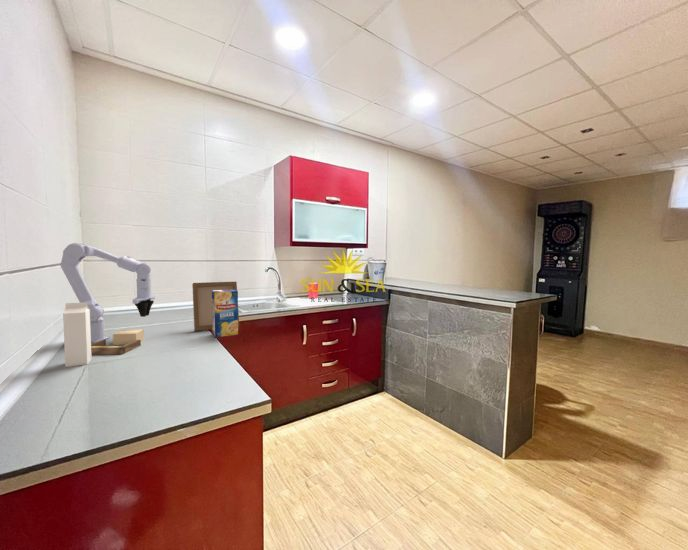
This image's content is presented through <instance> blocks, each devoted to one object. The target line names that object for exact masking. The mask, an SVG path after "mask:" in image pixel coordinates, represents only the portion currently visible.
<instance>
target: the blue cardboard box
mask: <svg viewBox="0 0 688 550" xmlns="http://www.w3.org/2000/svg"><path fill="white" fill-rule="evenodd" d="M238 312H239V291H238V289H237V290H215V291H212V329H211V330H212V333H211V334H212V335H213V337H214V338H221V337H231V336H237V335H239V326H238Z"/></svg>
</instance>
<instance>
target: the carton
mask: <svg viewBox="0 0 688 550" xmlns="http://www.w3.org/2000/svg"><path fill="white" fill-rule="evenodd" d="M144 332H145V331H144V329H121V330H119V331H116V332H114V333H112V341H113V342H112V346H120V345H121V346H124V345H126V344H129V343H131V342H133V341H135V340H141V342H142V341H145V333H144Z"/></svg>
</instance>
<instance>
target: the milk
mask: <svg viewBox="0 0 688 550" xmlns="http://www.w3.org/2000/svg"><path fill="white" fill-rule="evenodd" d="M62 314H63V315H62V322H63V338H64V339H63V343H64V345H63V346H64V365H65V368H68V367H76V366H85V365H88V364H89V363H90V362H91V360H92V354H91V344H92V342H91V332H90V309H89V308H88V307H87V302H83V303H80V302H67V303H65V308H64V311H63V313H62Z"/></svg>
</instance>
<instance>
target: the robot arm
mask: <svg viewBox="0 0 688 550" xmlns="http://www.w3.org/2000/svg"><path fill="white" fill-rule="evenodd" d="M86 257H98V258H101V259H103V260H105V261H109V262H112V263H114V264H115V263H116V265H117V267H118V268H120V269H124V270H125V271H129V272H130V273H136V297H135V298H133V299H132V304H134V305H135V307H136V308H137V311H138V312H139V316H140V317H143V318H144V317H147V316H149V315H150V312H151V309H152V306H153V304H154V302H155V301H154V300H155V299H156V298H155V297H156V295H153V294H152V282H151V281H152V279H151V270H152V269H151V266H150V265H149V264H148V263H146V262H142V261H141V260H137V259H134V258H131V257H132V256H129V255H127V256H126V255H122V256H117V255H115V254H113V253H110V252H108V251H105V250H104V249H100V248H98V247H95V246H91V245H86V244H83V243H77V242H75V243H70V244H68V245H67V246H66V247H65V248H64V250H63V251H62V257H61V262H60V268H61V270H62V272H63V273H64V275H65V277H66V279H67V281H68V283H69V285H70V286H71V288H72V290H73V292H74V294H75V296H76V297H77V299H78V301H79V302H78V303H83V302H87V307H88V308H89V309H90V332H91V343H95V342H97V341H100V340H106V339H110V336H105V318H103V317H102V316H103V315H104V312H105V310H104V308H103V307H102V306H101V305H100V304H98V302H97V300H96V298H94V297H93V294H92V293H91V291H90V289H89V287H88V285H87V283H86V281H85V279H84V277H83V275H82V273H81V272H80V270H79V268H78V266H79V264H80V262H81V261H82V260H84V258H86Z"/></svg>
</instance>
